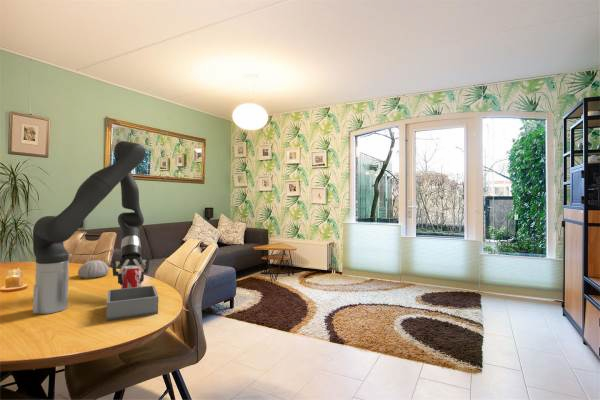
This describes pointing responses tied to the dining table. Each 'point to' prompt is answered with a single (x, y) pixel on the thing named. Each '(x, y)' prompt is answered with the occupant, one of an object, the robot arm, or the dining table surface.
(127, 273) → the soda can
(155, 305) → the bin
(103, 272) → the sea urchin shell
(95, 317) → the dining table surface
